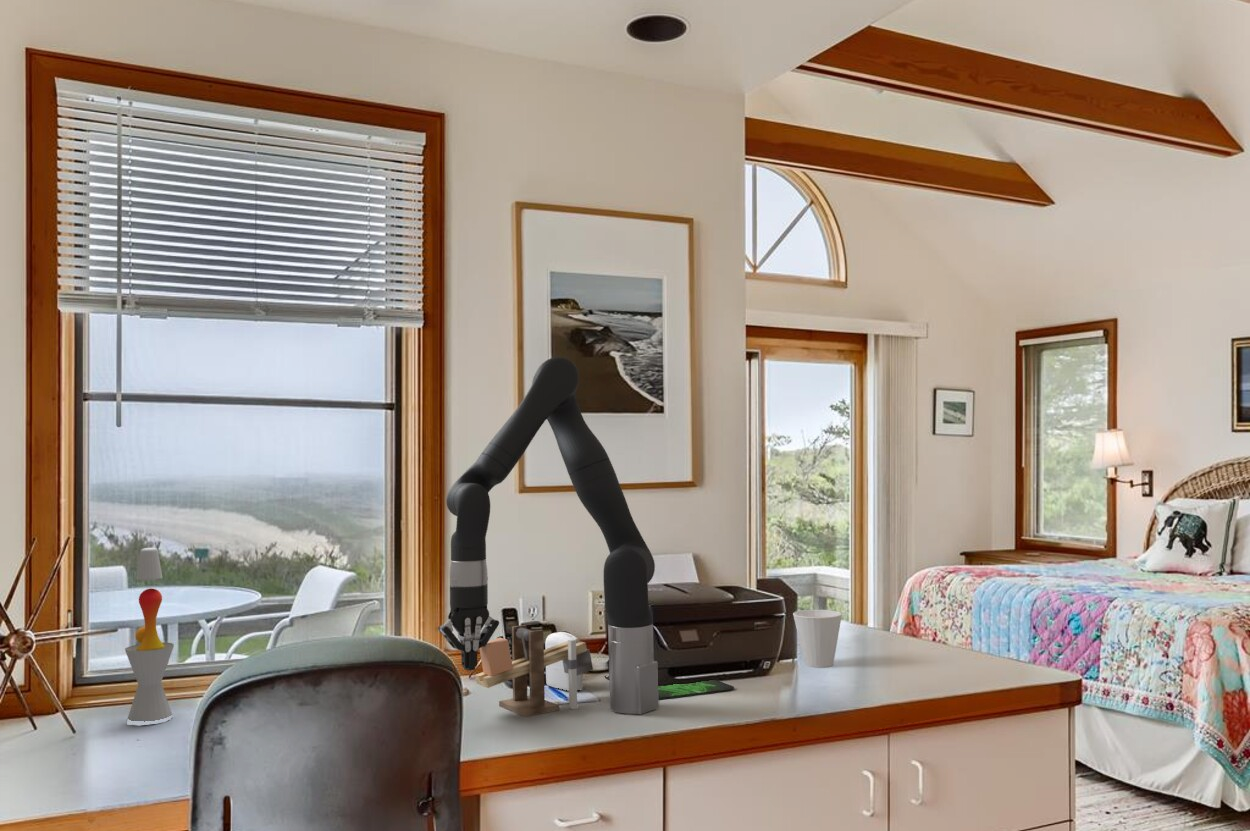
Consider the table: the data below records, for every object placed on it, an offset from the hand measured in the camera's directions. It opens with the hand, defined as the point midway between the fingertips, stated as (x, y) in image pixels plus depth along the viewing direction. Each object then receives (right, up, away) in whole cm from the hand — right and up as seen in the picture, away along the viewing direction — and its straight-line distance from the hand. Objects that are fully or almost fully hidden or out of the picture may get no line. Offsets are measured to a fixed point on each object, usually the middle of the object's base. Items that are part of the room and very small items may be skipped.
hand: (469, 669), depth 197 cm
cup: (+78, -10, +43) cm, 90 cm away
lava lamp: (-66, -12, +4) cm, 67 cm away
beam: (+13, -6, +9) cm, 17 cm away
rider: (+5, -1, +4) cm, 7 cm away
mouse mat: (+41, -11, +27) cm, 50 cm away
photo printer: (+17, -11, +25) cm, 32 cm away
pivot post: (+11, -10, +8) cm, 17 cm away
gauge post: (+20, -10, +7) cm, 24 cm away
